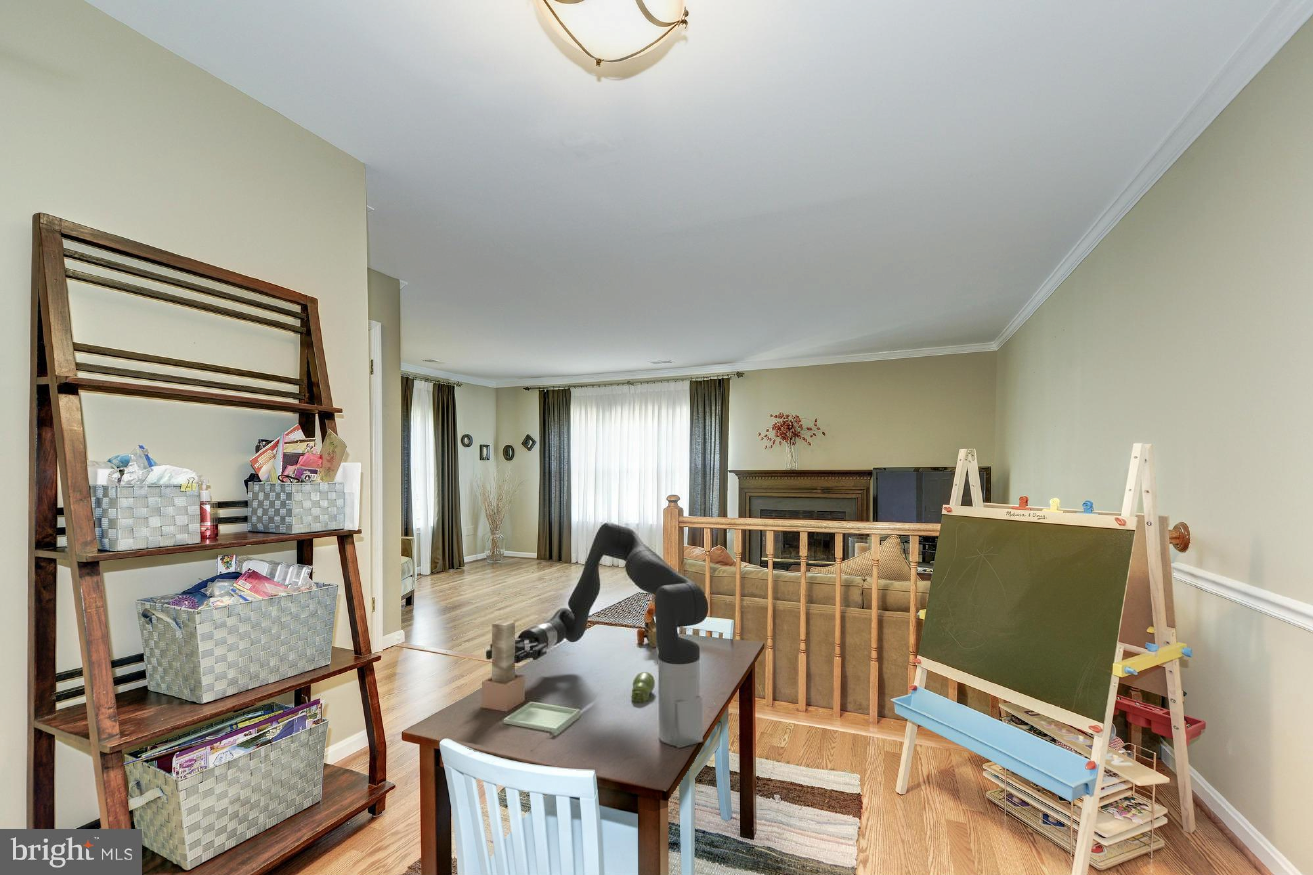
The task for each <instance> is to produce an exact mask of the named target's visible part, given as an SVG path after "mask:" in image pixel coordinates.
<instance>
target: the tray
mask: <svg viewBox="0 0 1313 875" xmlns="http://www.w3.org/2000/svg"><path fill="white" fill-rule="evenodd" d="M580 717H581V709H579V708H574V707H573V708H572V707H566V706H561V705H560V706H559V705H555V704H549V703H548V704H547V703H541V702H535V701H529V702H527V703H526V704H525V705H523V706H522V707H520V708H518V709H517V710H516V711H514V712H511V714H510V715H507V716H506V717H504V718H503V724H507V725H508V724H509V725H513V726H518V727H519V726H520V727H524V728H530V729H535V730H540V731H546V732H550V733H549V735H550V736H555V737H556V736H558V735H559V734H560V733H562V732H563V731H564V730H565V729H567V728H568V727H569V726H570V725H571V724H573V723H574V722H575V721H576V720H578V719H579V718H580Z"/></svg>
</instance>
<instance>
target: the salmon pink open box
mask: <svg viewBox="0 0 1313 875" xmlns="http://www.w3.org/2000/svg"><path fill="white" fill-rule="evenodd" d="M525 680H526V678H525V674H520V673H519V674H518V673H517V674H516V673H515V679H514V680H512V681H511V682H509V683H507V684H503V683H496V682H492V676H489V677H488V678H486V679H484V680H482V681H481V708H483V709H488V710H495V711H502V712H509V711H510V710H512V709H513V708H515V707H517V706H518V705H520V704H522V703H523V702H525V700H526V698H525V697H526V696H525V689H526V688H525V686H526V685H525V683H526V682H525Z"/></svg>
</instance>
